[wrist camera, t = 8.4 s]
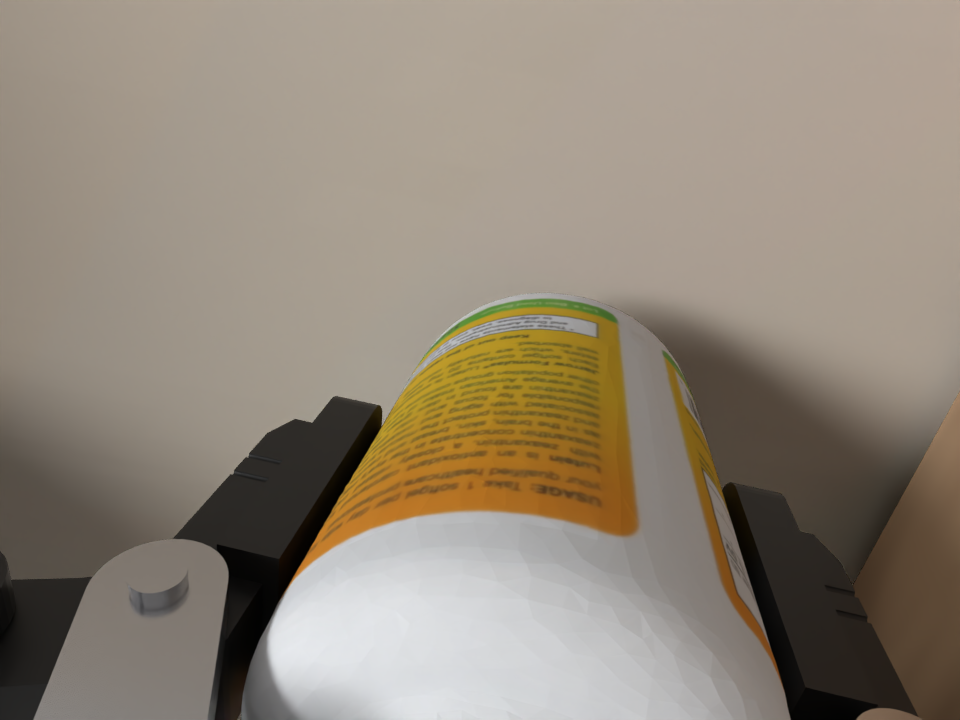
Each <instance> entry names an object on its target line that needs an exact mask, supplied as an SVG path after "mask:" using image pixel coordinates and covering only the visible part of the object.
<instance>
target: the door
mask: <svg viewBox="0 0 960 720" xmlns="http://www.w3.org/2000/svg"><path fill="white" fill-rule="evenodd" d="M853 588H854V590H855V597H857V598H859V600H860V602H861V604H862V606H863V608H864V610H865V612H866V614H867V616H868V618H867V622H868V623H871V624H872V626H873V628H874V630H875V632H876V634H877V636H878V638H879V640H880V642H881V644H882V646H883V648H884V650H885V651H886V653H887V655H888V657H889V659H890V661H891V663H892V665H893V667H894V669H895V671H896V673H897V675H898V677H899V679H900V681H901V683H902V685H903V687H904V689H905V691H906V693H907V695H908V697H909V699H910V701H911V703H912V705H913V707H914V709H915V711H916V713H917V715H918V717H919V718H921V719H924V720H960V392H959V393H958V395H957V397H956V399H955V401H954V402H953V404H952V406H951V408H950V410H949V412H948V413H947V415H946V417H945V419H944V421H943V422H942V424H941V426H940V428H939V430H938V432H937V433H936V435H935V437H934V439H933V441H932V442H931V444H930V446H929V448H928V450H927V452H926V453H925V455H924V457H923V459H922V461H921V462H920V464H919V466H918V468H917V470H916V472H915V473H914V475H913V477H912V479H911V481H910V482H909V484H908V486H907V488H906V490H905V492H904V493H903V495H902V497H901V499H900V501H899V502H898V504H897V506H896V508H895V510H894V512H893V513H892V515H891V517H890V519H889V521H888V523H887V524H886V526H885V528H884V530H883V532H882V533H881V535H880V537H879V539H878V541H877V543H876V544H875V546H874V548H873V550H872V552H871V553H870V555H869V557H868V559H867V561H866V563H865V564H864V566H863V568H862V570H861V572H860V573H859V575H858V577H857V579H856V581H855V583H854V584H853Z"/></svg>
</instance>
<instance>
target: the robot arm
mask: <svg viewBox="0 0 960 720" xmlns="http://www.w3.org/2000/svg"><path fill="white" fill-rule="evenodd" d="M381 424H382V408H381V406H380V405H375V404H371V403H366V402H361V401H357V400H352V399H348V398H343V397H338V396H335V397H333V398H332V399H331V400H330V401H329V403H328V404H327V405H326V406H325V408H324V409H323V410H322V411H321V413H320V414H319V415H318V417H317V418H316V419H315V420H314V422H313V423H311V422H306V421H302V420H297V419H294V420H292V421H290V422H288V423H286V424H284V425H282V426H280V427H278V428H277V429H275V430H273V431H271V432H269V433H267V434H266V435H265V436H264V437H263V439H262V440H261V441H260V442H259V443H258V444H257V445H256V446H255V448H254V449H253V450H252V451H251V452H250V453H249V457H248V458H247V457H246V458H245V459H244V460H243V461H242V462H241V463H240V464H239V465H238V467H237V468H236V469H235V470H234V474H233V475H231V474H230V476H229V477H228V478H227V479H226V480H225V481H224V482H223V483H222V484H221V486H220V487H219V488H218V489H217V490H216V491H215V492H214V493H213V495H212V496H211V497H210V498H209V499H208V500H207V501H206V502H205V503H204V505H203V506H202V507H201V508H200V509H199V510H198V511H197V512H196V514H195V515H194V516H193V517H192V518H191V519H190V520H189V521H188V522H187V524H186V525H185V526H184V527H183V528H182V529H181V530H180V531H179V533H178V534H177V535H176V536H175V537H174V538H173V539H166V540H158V541H153V542H148V543H145V544H142V545H138V546H136V547H133V548H131V549H129V550H126V551H124V552H122V553H121V554H119V555H117V556H115V557H114V558H112V559H111V560H110V561H108V562H107V563H105V564H104V565H103V566H102V567H101V568H100V569H99V570H98V571H97V572H96V573H95V575H94V576H93V577H87V578H65V579H28V580H11V577H10V573H9V568H8V564H7V561H6V558H5V556H4V555H3V554H2V553H1V551H0V720H237V718H238V716H239V715H240V713H241V705H242V698H243V691H244V686H245V682H246V677H247V674H248V670H249V666H250V662H251V660H252V657H253V655H254V652H255V650H256V647H257V645H258V642H259V640H260V638H261V636H262V634H263V633H264V631H265V629H266V627H267V625H268V623H269V621H270V619H271V617H272V615H273V613H274V611H275V608H276V606H277V604H278V602H279V600H280V599H281V597H282V595H283V594H284V592H285V590H286V589H287V587H288V585H289V584H290V582H291V580H292V578H293V577H294V575H295V573H296V571H297V570H298V568H299V566H300V565H301V563H302V561H303V560H304V558H305V556H306V555H307V553H308V551H309V549H310V548H311V546H312V544H313V543H314V541H315V539H316V537H317V535H318V533H319V531H320V530H321V529H322V527H323V525H324V523H325V521H326V520H327V518H328V517H329V515H330V513H331V511H332V508H333V507H334V505H335V504H336V502H337V500H338V498H339V496H340V495H341V494H342V493H343V491H344V488H345V486H346V485H347V484H348V483H349V482H350V480H351V478H352V476H353V474H354V472H355V471H356V469H357V468H358V466H359V465H360V463H361V461H362V459H363V458H364V456H365V454H366V453H367V451H368V449H369V448H370V446H371V444H372V442H373V441H374V439H375V437H376V436H377V434H378V432H379V431H380V429H381ZM722 492H723V496H724V499H725V502H726V506H727V509H728V512H729V516H730V519H731V522H732V525H733V528H734V531H735V535H736V538H737V541H738V545H739V548H740V551H741V554H742V558H743V561H744V564H745V567H746V571H747V574H748V577H749V580H750V583H751V586H752V590H753V593H754V596H755V599H756V602H757V605H758V608H759V611H760V614H761V618H762V621H763V624H764V628H765V631H766V634H767V637H768V641H769V644H770V647H771V651H772V653H773V656H774V659H775V661H776V664H777V668H778V671H779V675H780V678H781V682H782V685H783V688H784V692H785V696H786V701H787V707H788V711H789V714H790V718H791V720H924V719H921V718H919V717H918V715H917V713H916V711H915V709H914V707H913V705H912V703H911V701H910V699H909V697H908V695H907V693H906V691H905V689H904V687H903V685H902V683H901V681H900V679H899V677H898V675H897V673H896V671H895V669H894V667H893V665H892V663H891V661H890V659H889V657H888V655H887V653H886V651H885V650H884V648H883V646H882V644H881V642H880V640H879V638H878V636H877V634H876V632H875V630H874V628H873V626H872V624H871V623H868V622H867V618H868V616H867V614H866V612H865V610H864V608H863V606H862V604H861V602H860V600H859V598H857V597H855V590H854V588H853V586H852V584H851V582H850V581H849V579H848V577H847V575H846V573H845V571H844V569H843V567H842V565H841V563H840V562H839V561H838V560H837V559H836V557H835V556H834V555H833V554H832V553H831V552H830V551H829V550H828V549H827V548H826V547H825V546H824V545H823V544H822V543H821V542H820V541H819V540H818V539H817V538H816V537H815V536H814V535H813V534H808V533H804V532H800V530H799V528H798V526H797V524H796V522H795V519H794V517H793V515H792V513H791V511H790V508H789V506H788V504H787V502H786V500H785V498H784V496H783V495H782V494H780V493H777V492H772V491H767V490H763V489H758V488H754V487H749V486H744V485H740V484H735V483H728V484H726V485H725V487H724V488H723V490H722Z"/></svg>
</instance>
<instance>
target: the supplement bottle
mask: <svg viewBox="0 0 960 720" xmlns="http://www.w3.org/2000/svg"><path fill="white" fill-rule="evenodd" d="M241 720H791V718H790V714H789V711H788V707H787V701H786V696H785V692H784V688H783V685H782V682H781V678H780V675H779V671H778V668H777V664H776V661H775V659H774V656H773V653H772V651H771V647H770V644H769V641H768V637H767V634H766V631H765V628H764V624H763V621H762V618H761V614H760V611H759V608H758V605H757V602H756V599H755V596H754V593H753V590H752V586H751V583H750V580H749V577H748V574H747V571H746V567H745V564H744V561H743V558H742V554H741V551H740V548H739V545H738V541H737V538H736V535H735V531H734V528H733V525H732V522H731V519H730V516H729V512H728V509H727V506H726V502H725V499H724V496H723V492H722V489H721V486H720V482H719V479H718V476H717V473H716V469H715V466H714V463H713V460H712V456H711V453H710V449H709V446H708V443H707V439H706V436H705V433H704V430H703V427H702V424H701V420H700V417H699V414H698V411H697V408H696V405H695V402H694V399H693V396H692V393H691V391H690V389H689V387H688V384H687V382H686V380H685V378H684V375H683V373H682V371H681V369H680V368H679V366H678V364H677V362H676V361H675V359H674V358H673V356H672V355H671V354H670V352H669V351H668V350H667V348H666V347H665V346H664V345H663V343H662V342H661V341H660V340H659V339H658V338H657V337H656V336H655V335H654V334H652V333H651V332H650V331H649V330H648V329H647V328H645V327H644V326H643V325H642V324H640V323H639V322H638V321H636V320H635V319H633V318H632V317H630V316H628V315H627V314H625V313H623V312H621V311H619V310H617V309H615V308H613V307H611V306H608V305H605V304H603V303H600V302H597V301H595V300H591V299H587V298H584V297H578V296H572V295H566V294H557V293H531V294H522V295H516V296H511V297H507V298H503V299H500V300H496V301H493V302H491V303H488V304H486V305H483V306H481V307H479V308H477V309H475V310H474V311H472V312H470V313H468V314H467V315H465V316H464V317H462V318H461V319H459V320H458V321H457V322H455V323H454V324H453V325H452V326H450V327H449V328H448V329H447V330H446V331H445V332H444V333H443V334H442V335H441V336H440V337H439V338H438V339H437V340H436V341H435V342H434V344H433V345H432V346H431V347H430V349H429V350H428V351H427V353H426V354H425V355H424V357H423V359H422V360H421V362H420V363H419V364H418V366H417V367H416V369H415V371H414V372H413V374H412V376H411V377H410V379H409V381H408V382H407V384H406V386H405V387H404V389H403V391H402V393H401V395H400V397H399V398H398V400H397V402H396V403H395V405H394V407H393V409H392V410H391V412H390V414H389V415H388V417H387V419H386V420H385V422H384V424H383V426H382V427H381V429H380V431H379V432H378V434H377V436H376V437H375V439H374V441H373V442H372V444H371V446H370V448H369V449H368V451H367V453H366V454H365V456H364V458H363V459H362V461H361V463H360V465H359V466H358V468H357V469H356V471H355V472H354V474H353V476H352V478H351V480H350V482H349V483H348V484H347V485H346V486H345V488H344V491H343V493H342V494H341V495H340V496H339V498H338V500H337V502H336V504H335V505H334V507H333V508H332V511H331V513H330V515H329V517H328V518H327V520H326V521H325V523H324V525H323V527H322V529H321V530H320V531H319V533H318V535H317V537H316V539H315V541H314V543H313V544H312V546H311V548H310V549H309V551H308V553H307V555H306V556H305V558H304V560H303V561H302V563H301V565H300V566H299V568H298V570H297V571H296V573H295V575H294V577H293V578H292V580H291V582H290V584H289V585H288V587H287V589H286V590H285V592H284V594H283V595H282V597H281V599H280V600H279V602H278V604H277V606H276V608H275V611H274V613H273V615H272V617H271V619H270V621H269V623H268V625H267V627H266V629H265V631H264V633H263V634H262V636H261V638H260V640H259V642H258V645H257V647H256V650H255V652H254V655H253V657H252V660H251V662H250V666H249V670H248V674H247V677H246V682H245V686H244V691H243V698H242V705H241Z"/></svg>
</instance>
